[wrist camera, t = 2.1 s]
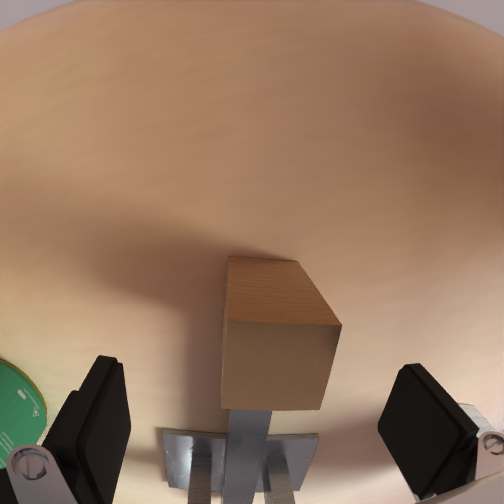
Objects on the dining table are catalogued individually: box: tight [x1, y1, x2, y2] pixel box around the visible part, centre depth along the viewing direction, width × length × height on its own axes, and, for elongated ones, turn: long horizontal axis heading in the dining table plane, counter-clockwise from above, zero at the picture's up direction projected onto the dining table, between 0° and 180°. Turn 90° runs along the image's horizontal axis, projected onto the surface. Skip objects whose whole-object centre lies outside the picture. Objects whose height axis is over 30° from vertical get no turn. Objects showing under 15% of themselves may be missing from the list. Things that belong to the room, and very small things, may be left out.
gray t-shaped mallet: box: [221, 256, 342, 504], centre depth 18 cm, size 4×24×8 cm, turn 174°
